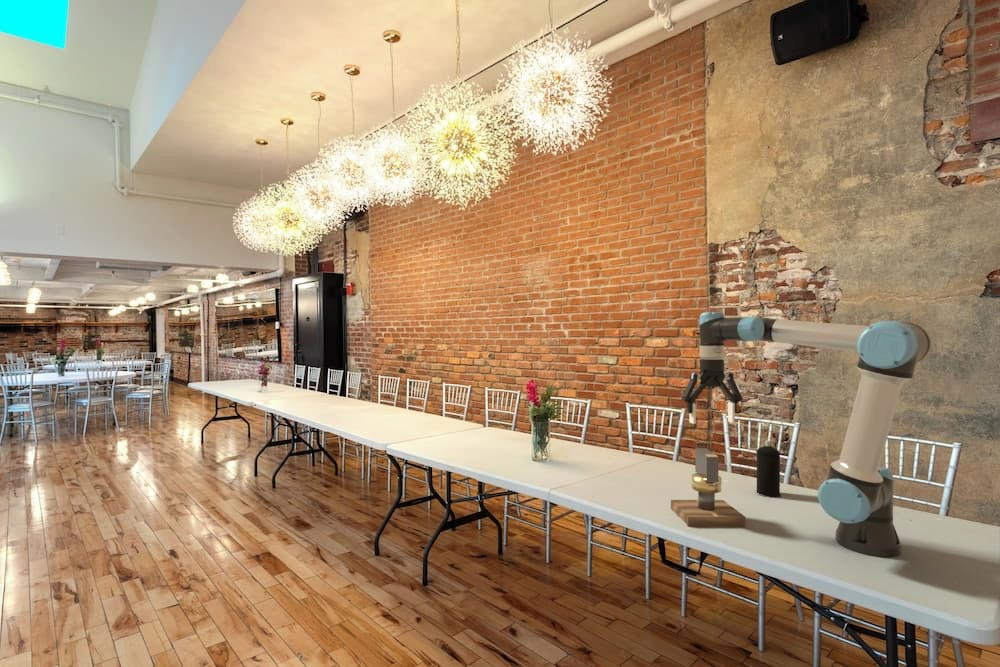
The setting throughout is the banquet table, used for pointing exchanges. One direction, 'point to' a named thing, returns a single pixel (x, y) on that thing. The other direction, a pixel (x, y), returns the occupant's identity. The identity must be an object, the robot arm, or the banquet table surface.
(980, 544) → the banquet table surface
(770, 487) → the aerosol can
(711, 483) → the coupling
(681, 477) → the banquet table surface
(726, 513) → the base
